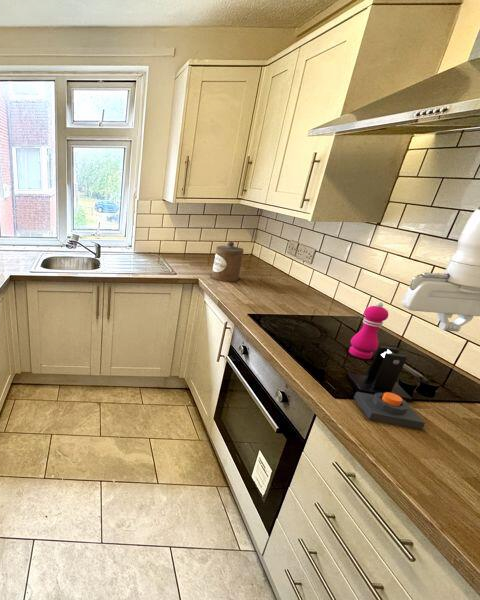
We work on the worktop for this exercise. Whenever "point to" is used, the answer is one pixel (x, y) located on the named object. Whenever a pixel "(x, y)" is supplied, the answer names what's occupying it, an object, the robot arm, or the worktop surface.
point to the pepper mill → (368, 332)
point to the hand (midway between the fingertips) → (448, 330)
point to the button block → (388, 411)
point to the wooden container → (227, 262)
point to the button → (392, 399)
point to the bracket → (382, 374)
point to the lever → (409, 369)
